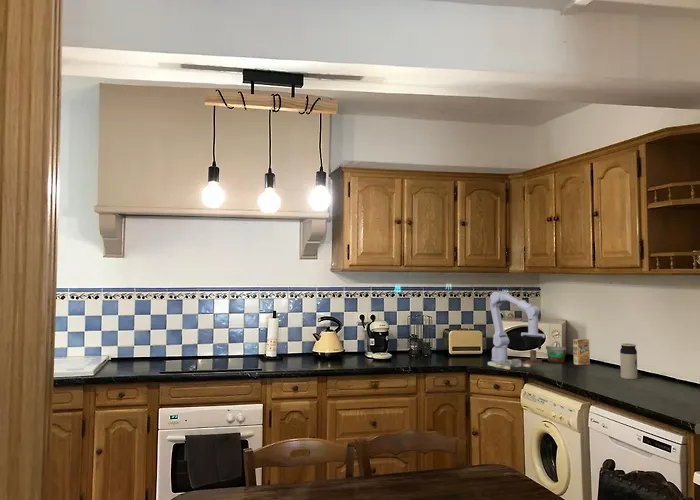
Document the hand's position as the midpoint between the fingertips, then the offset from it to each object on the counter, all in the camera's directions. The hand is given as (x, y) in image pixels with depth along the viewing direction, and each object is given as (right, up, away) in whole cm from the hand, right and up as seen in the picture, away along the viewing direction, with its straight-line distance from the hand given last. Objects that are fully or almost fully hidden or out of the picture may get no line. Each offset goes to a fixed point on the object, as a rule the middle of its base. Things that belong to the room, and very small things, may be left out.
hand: (533, 348), depth 339 cm
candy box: (+31, -10, +4) cm, 33 cm away
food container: (+18, -11, +12) cm, 24 cm away
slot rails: (-14, -10, -4) cm, 17 cm away
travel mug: (+38, -9, -40) cm, 56 cm away
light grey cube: (-18, -10, -4) cm, 21 cm away
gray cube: (-11, -10, -2) cm, 15 cm away
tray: (-18, -10, +4) cm, 21 cm away
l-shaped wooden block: (+1, -11, +3) cm, 11 cm away
